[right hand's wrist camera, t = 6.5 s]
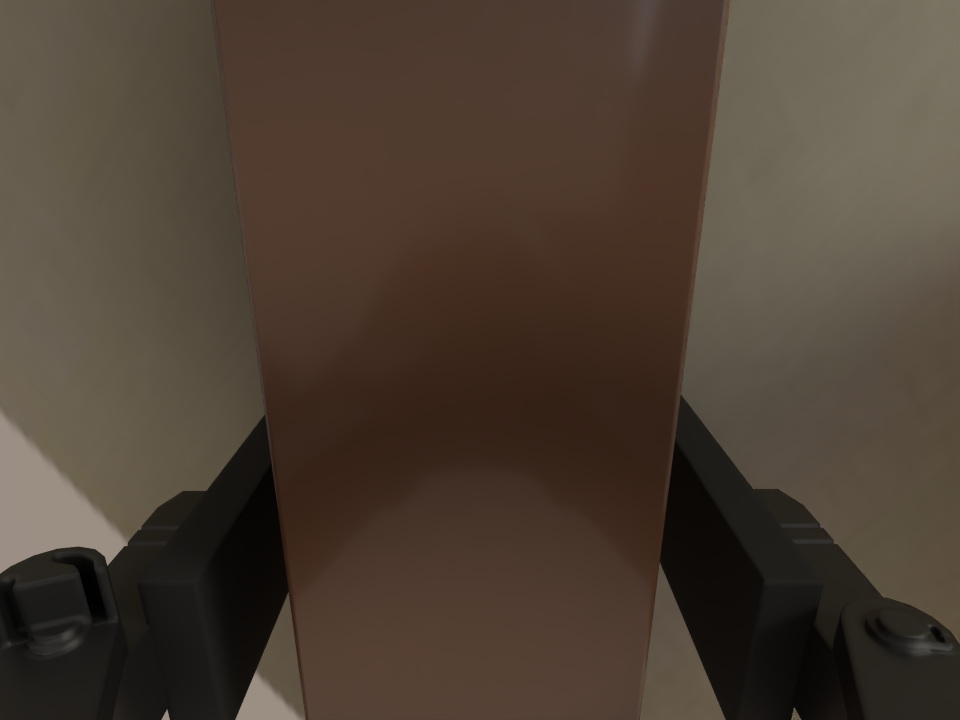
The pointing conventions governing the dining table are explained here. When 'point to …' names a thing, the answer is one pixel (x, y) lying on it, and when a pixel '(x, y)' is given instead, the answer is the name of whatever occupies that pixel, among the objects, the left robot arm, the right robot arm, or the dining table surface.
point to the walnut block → (471, 333)
